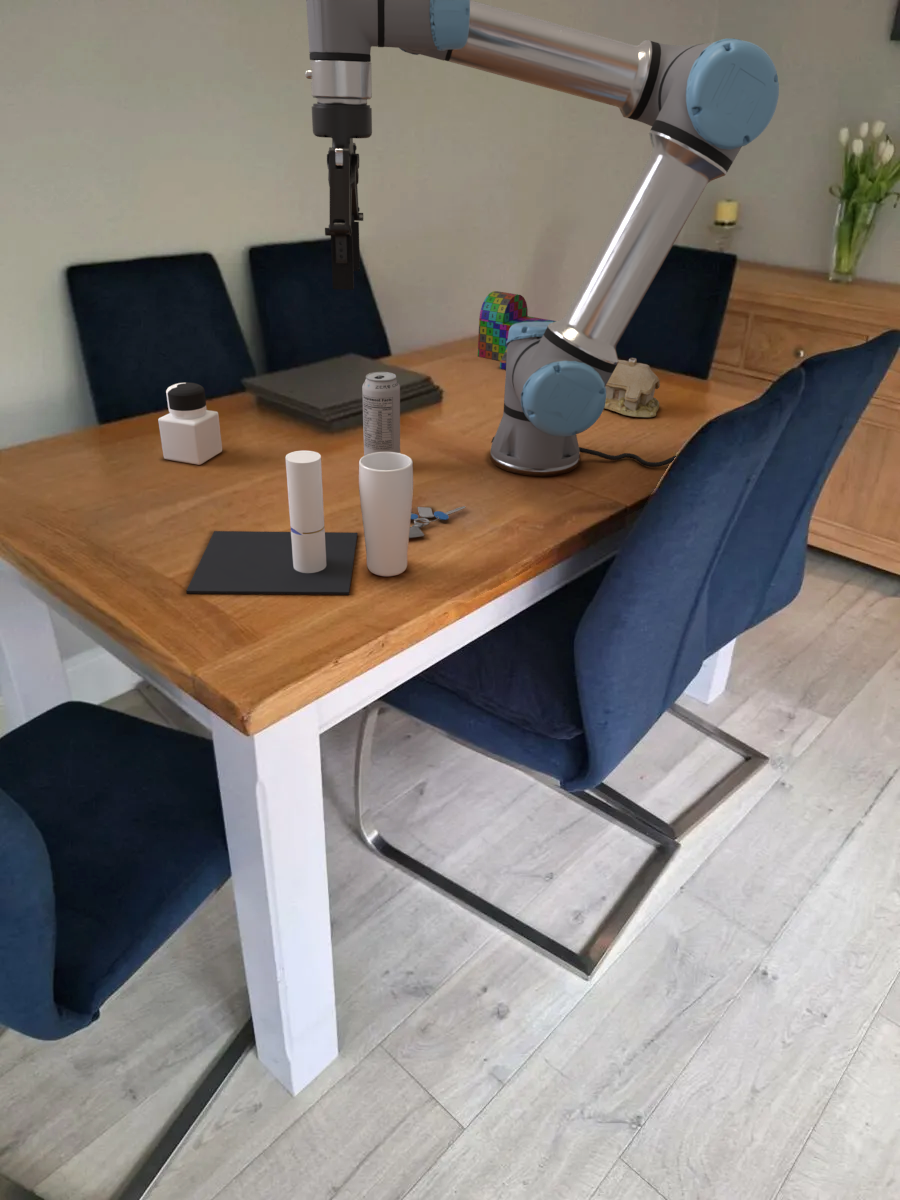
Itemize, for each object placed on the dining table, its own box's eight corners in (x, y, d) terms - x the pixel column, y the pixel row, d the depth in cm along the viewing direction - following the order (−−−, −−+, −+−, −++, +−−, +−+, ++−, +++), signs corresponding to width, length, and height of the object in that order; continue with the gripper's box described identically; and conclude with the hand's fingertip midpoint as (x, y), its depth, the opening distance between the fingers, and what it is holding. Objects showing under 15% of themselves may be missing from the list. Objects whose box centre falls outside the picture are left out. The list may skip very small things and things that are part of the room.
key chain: (414, 544, 121) (414, 539, 121) (366, 529, 125) (366, 524, 124) (466, 510, 131) (466, 505, 131) (420, 497, 135) (420, 492, 135)
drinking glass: (361, 557, 118) (358, 451, 110) (411, 556, 118) (412, 450, 111) (361, 581, 112) (357, 471, 104) (414, 580, 112) (414, 470, 105)
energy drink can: (406, 462, 148) (406, 374, 141) (389, 473, 143) (388, 383, 136) (375, 455, 150) (373, 368, 143) (357, 467, 146) (355, 377, 138)
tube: (329, 558, 116) (324, 451, 109) (322, 574, 112) (316, 464, 105) (297, 556, 116) (290, 449, 109) (289, 571, 113) (281, 461, 105)
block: (465, 361, 205) (467, 298, 198) (503, 347, 217) (506, 287, 210) (559, 380, 193) (564, 314, 186) (593, 364, 205) (600, 302, 198)
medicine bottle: (223, 451, 150) (215, 382, 144) (200, 465, 144) (191, 394, 138) (187, 445, 152) (178, 377, 146) (163, 459, 146) (152, 388, 140)
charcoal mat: (357, 535, 123) (357, 532, 123) (349, 595, 109) (349, 592, 109) (214, 533, 123) (214, 530, 122) (186, 593, 108) (186, 590, 108)
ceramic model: (668, 407, 178) (676, 358, 173) (648, 422, 170) (655, 370, 165) (604, 395, 185) (610, 347, 180) (582, 408, 176) (587, 358, 171)
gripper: (321, 100, 120) (327, 263, 131) (299, 102, 99) (309, 297, 109) (375, 101, 121) (378, 264, 131) (366, 104, 99) (370, 298, 110)
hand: (347, 279), depth 120 cm, fingers open, 13 cm apart
